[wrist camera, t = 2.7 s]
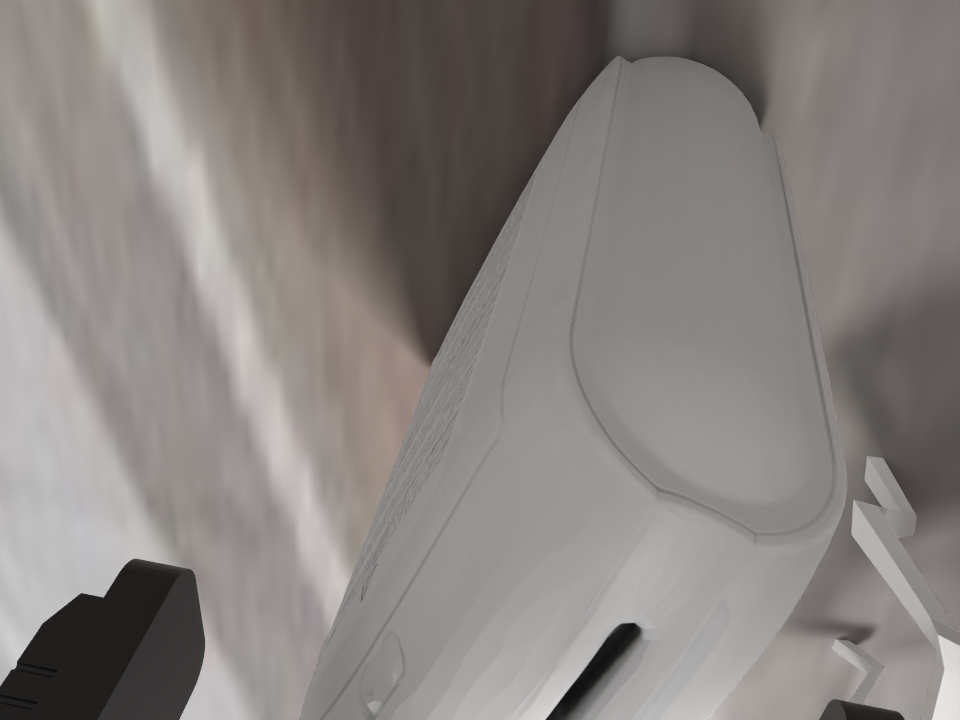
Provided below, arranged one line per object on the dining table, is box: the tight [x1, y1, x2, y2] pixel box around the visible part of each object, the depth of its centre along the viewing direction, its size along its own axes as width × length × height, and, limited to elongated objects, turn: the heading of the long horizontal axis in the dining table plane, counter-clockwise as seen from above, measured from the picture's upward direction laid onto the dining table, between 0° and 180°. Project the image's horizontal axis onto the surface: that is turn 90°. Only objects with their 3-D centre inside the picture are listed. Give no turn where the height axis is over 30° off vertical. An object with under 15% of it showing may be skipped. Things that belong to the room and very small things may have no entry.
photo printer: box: [299, 56, 848, 720], centre depth 15 cm, size 10×4×12 cm, turn 156°
